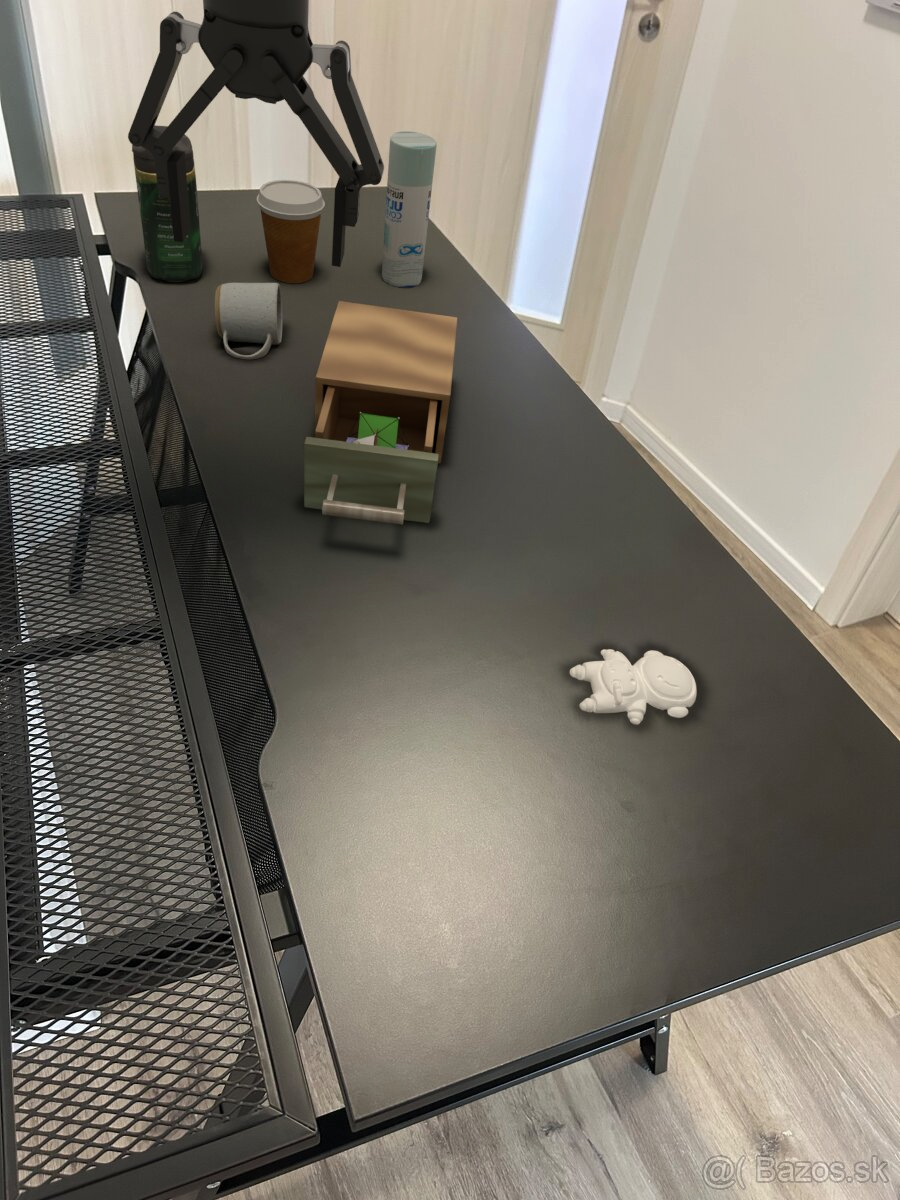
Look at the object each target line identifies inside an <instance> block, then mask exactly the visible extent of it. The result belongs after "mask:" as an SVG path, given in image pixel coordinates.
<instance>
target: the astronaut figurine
mask: <svg viewBox="0 0 900 1200" xmlns="http://www.w3.org/2000/svg"><path fill="white" fill-rule="evenodd" d="M600 655H601V656H602V658H603V660H595V661H594V660H593V661H585V662H583V663H582V664H577V665H575V666H573V667H572V668H570V669H569V675H570V676H571V677H572V678H575V679H576V680H579V681H584V682H588V683H590V688H591V691H592V694H591V695H590V697H587V698H586V697H585V698H584V699H583V701H581V702H580V703H579V709H580V710H581V711H583V712H587V713H594V714H617V713H623V712H626V713H627V718H628V720H629V722H630V723H631V724H632V725H640V724H641V722H642V721H643V720H644V716H645V714H646V711H647V704H648V705H650V706H651V707H653V708H654V709H658V710H660V711H665V710H666V711H667V714H668V716H670V717H673V718H677V719H681V718H684V717H687V715H688V714H689V710H688V708H691V707H692V706H693V705H694V703H696V699H697V683H696V680H695V677H694V676H693V674H692V672H691V670H690V669H689V668H688V667H687V666H686V665H685V664H683V663H682V662H681V661H679V660H678V659H677V658H675V657H673V656H668V655H664V654H663V653H662V652H661V651H658V650H653V649H652V650H647V651H646V652H645V653H643V657H641V658H639V659H638V660H637V661H636V662H635V663H633V665H632V664H631V661H630V660H629V659H628V658H627V656H626V655H624V654H623V653H622V652H621V651H618V650H616V651H615V650H614V649H610V648H608V649H602V650H600Z"/></svg>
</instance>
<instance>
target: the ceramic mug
mask: <svg viewBox="0 0 900 1200" xmlns="http://www.w3.org/2000/svg"><path fill="white" fill-rule="evenodd" d="M283 320H284V319H283V300H282V290H281V285H280V283H278V282H227V283H222V284H219V285H218V286H217V288H216V290H215V294H214V321H215V322H214V323H215V327H216V332H217V334H218V336H219V337H220V338H221V339H223V345H224V350H225V351H226V353H227V354H228V355H230V356H231V357H234V358H236V359H240V360H257V359H260V358H263V357H265V356H266V355H267V354H268V353H269V351H270V349H271V346H272V345H273V346H277V345H280V343H281V342H282V339H283V338H282V337H283ZM229 341H230V342H236V343H237V342H238V343H250V344H251V343H252V344H260V345H263V346H262V347H261V348H260V349H259V350H258V351H256V352H255V353H252V354H250V355H246V354H245V355H244V354H240V353H238V352H235V351H234V350H232V349H231V348H230V346H229V344H228V343H229Z"/></svg>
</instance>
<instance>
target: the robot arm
mask: <svg viewBox="0 0 900 1200" xmlns="http://www.w3.org/2000/svg"><path fill="white" fill-rule="evenodd" d="M309 3H310V0H202V7H203V8H202V9H203V17H202V23H198V22H194V21H191V20H187V19H185V18H184V16H183V15H182V13H181V12H179V11H172V12H170V13H169V14H167V16H166V17H165V18H163V19H162V20H161V21H160V24H159V52H158V55H157V58H156V60H155V62H154V65H153V69H152V71H151V73H150V76H149V79H148V81H147V84H146V86H145V88H144V92H143V94H142V97H141V100H140V102H139V105H138V107H137V110H136V113H135V115H134V118H133V121H132V123H131V125H130V129H129V131H128V134H127V139H128V141H129V143H130V144H131V146H132V145H134V146H137V147H139V146H141V147H143V148H145V149H147V150H149V151H150V152H151V153H152V154H153V156H154V159H155V167H156V177H157V187H158V191H159V194H160V196H162V197H168V198H170V203H171V214H172V225H173V236H174V241H177V242H183V241H184V240H185V238H186V236H187V235H188V233H189V232H190V230H191V227H190V214H189V201H188V188H187V175H186V161H185V151H179V150H175V151H174V146H175V145H176V144H177V143H178V141H179V140H180V139H181V138H182V137H183V135H184V134H185V135H186V133H187V132H188V131H189V130H190V128H191V127H192V126H193V125H194V124H195V122H197V120H198V119H199V117H200V116H201V115H202V114H203V113H204V111H206V109H207V108H208V107H209V105H210V104H211V103H212V102H213V101H214V100H215V98H216V97H217V96H218V94H219V93H221V91H222V90H223V89H224V87H225V88H226V89H227V91H229V92H230V93H232V95H234V98H235V99H241V100H242V99H243V100H248V99H257V100H260V101H261V102H264V103H266V104H272V105H277V103H278V102H282V101H285V102H286V104H287V105H288V107H289V108H290V110H291V111H292V113H293V114H294V115H296V116H297V117H298V118H299V120H300V122H302V124H303V125H304V127H305V128H306V130H307V132H308V133H309V134H310V136H311V137H312V139H313V140H314V142H315V143H316V144H317V146H318V148H319V149H320V151H321V152H322V153H323V155H324V156H325V158H326V159H327V161H328V162H329V164H330V165H331V167H332V168H333V171H335V172H336V174H337V176H338V179H337V182H336V185H335V187H334V201H333V202H334V203H333V222H332V223H333V225H332V226H333V227H332V247H331V250H332V251H331V267H336V268H337V267H338V268H341V266H342V263H343V258H344V256H345V247H346V246H345V245H346V227H352V228H355V227H356V225H357V222H358V220H359V216H360V207H361V206H360V205H361V191H362V188H363V187H365V186H369V185H372V186H377V185H379V184H380V183H381V182H382V179H383V175H384V171H385V164H384V161H383V159H382V156H381V152H380V150H379V148H378V144H377V142H376V140H375V136H374V133H373V131H372V128H371V126H370V123H369V120H368V117H367V115H366V112H365V109H364V106H363V103H362V100H361V97H360V95H359V92H358V90H357V87H356V83H355V81H354V79H353V75H352V62H351V48H350V45H349V43H348V42H346V41H345V40H338V41H337V42H335V44H320V43H313V41H312V39H311V38H312V37H311V35H310V30H309V12H310V11H309V7H310V6H309V5H310V4H309ZM195 43H197V44H199V46H200V49H201V50H202V52H203V53H204V55H205V57H206V58H207V60H208V61H209V63H210V64H211V66H212V67H213V70H212V71H211V72H210V73H209V75H208V76H207V77H206V79H205V80H204V81H203V82H202V83H201V84H200V86H199V87H198V89H197V90H196V91H195V92H194V94H193V95H192V96H191V97H190V99H188V101H187V102H186V103H185V105H184V106H183V107H182V108H181V110H180V111H179V112H178V113H177V115H176V116H174V118H173V119H172V121H171V122H170V123H169V124H168V125H167V126H168V127H167V128H166V129H165V131H164V132H163V133H161V132H159V131H157V130H156V129H154V126H155V125H156V123H157V121H158V117H159V116H160V113H161V111H162V108H163V105H164V103H165V101H166V98H167V95H168V93H169V91H170V88H171V87H172V83H173V80H174V78H175V75H176V74H177V71H178V68H179V67H180V63H181V61H182V59H183V58H182V57H183V55H186V54H188V53H189V52H190V51H191V50H192V48H193V46H194V44H195ZM313 63H314V64H316V65H318V66H319V68H320V69H321V73H322V75H323V77H324V78H326V79H327V80H331V86H332V89H333V93H334V95H335V98H336V101H337V104H338V107H339V109H340V112H341V115H342V117H343V120H344V123H345V125H346V129H347V130H348V133H349V135H350V138H351V141H352V143H353V146H354V149H355V152H356V155H357V157H358V159H359V162H360V164H359V163H358V161H357V159H356V158H355V156H354V155H353V153H352V152H351V150H350V148H349V147H348V146H347V144H346V142H345V141H344V140H343V137H342V136H341V135H340V133H339V132H338V130H337V128H336V127H335V125H334V124H333V123H332V121H331V120H330V119H329V117H328V115H327V113H326V112H325V111H324V109H323V107H322V106H321V104H320V103H319V102H318V100H317V99H316V96H315V93H314V91H313V89H312V87H311V86H310V85H309V83H308V82H307V80H306V78H305V77H304V75H305V74H306V72H307V71H308V70H309V69H310V68H311V65H312V64H313Z"/></svg>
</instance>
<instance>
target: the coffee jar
mask: <svg viewBox="0 0 900 1200" xmlns="http://www.w3.org/2000/svg"><path fill="white" fill-rule="evenodd" d="M168 126H169V125H156V124H155V126H154V129H156V130H157V131H159V132H161V133H163V132H164V131H165V129H166V128H167V127H168ZM191 141H192V140H191V139H190V137H188V135H186V133H185V134H184V135H183V137H182V138H181V139H180V140H179V141H178V143H177V144H176V145H175V146H174V151H175V150H179V151H185V161H186V175H187V188H188V201H189V214H190V227H191V230H190V232H189V233H188V235H187V236H186V238H185V240H184V241H183V242H177V241H174V236H173V225H172V214H171V203H170V198H168V197H162V196H160V194H159V191H158V187H157V177H156V167H155V159H154V156H153V154H152V153H151V152H150V151H149V150H147V149H145V148H143V147H141V146H139V147H137V146H134V145H132V144H131V152H132V157H133V167H134V174H135V182H136V191H137V200H138V207H139V214H140V221H141V229H142V237H143V248H144V255H145V260H146V268H147V271H148V273H149V275H150V276H151V277H152V278H154V279H158V280H162V281H167V282H170V283H182V282H183V283H184V282H186V281H190V280H194V279H195V280H196V279H198V278H199V277H200V276H201V274H202V271H203V255H202V254H203V253H202V241H201V229H200V227H201V226H200V212H199V211H200V209H199V198H198V186H197V175H196V166H195V159H194V158H195V157H194V150H193V145H192V142H191Z"/></svg>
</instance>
